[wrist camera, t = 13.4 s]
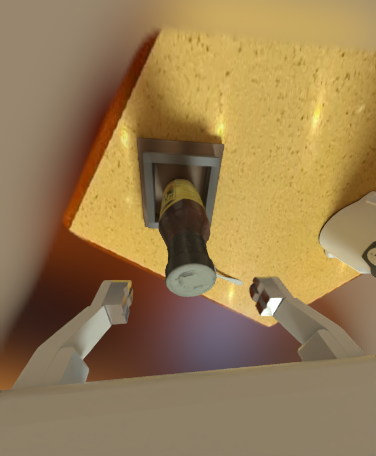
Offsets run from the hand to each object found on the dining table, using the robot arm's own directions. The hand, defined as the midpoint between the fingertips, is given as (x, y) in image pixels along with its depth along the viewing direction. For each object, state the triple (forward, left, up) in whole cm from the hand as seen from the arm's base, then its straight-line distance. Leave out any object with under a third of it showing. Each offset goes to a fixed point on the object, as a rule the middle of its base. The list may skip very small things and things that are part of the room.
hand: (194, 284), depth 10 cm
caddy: (0, 0, -22) cm, 22 cm away
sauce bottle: (0, +1, -21) cm, 21 cm away
